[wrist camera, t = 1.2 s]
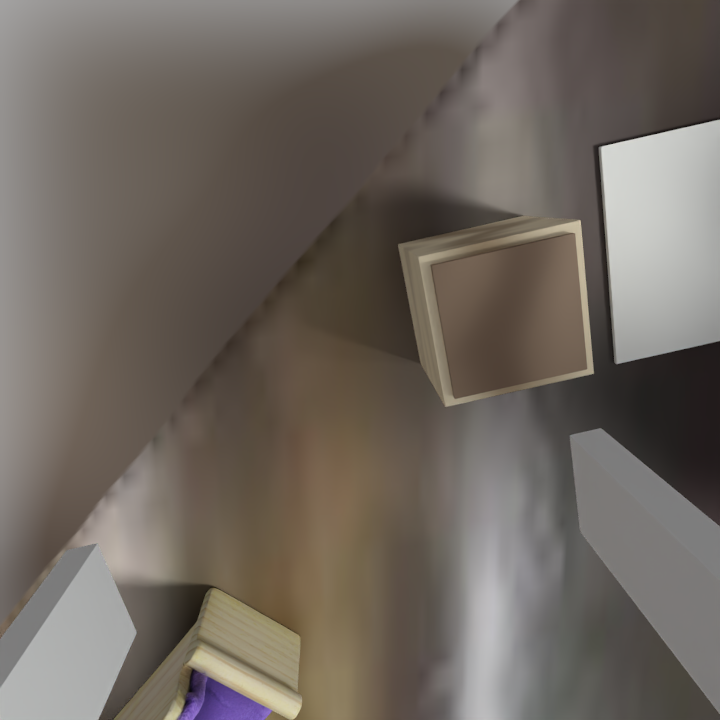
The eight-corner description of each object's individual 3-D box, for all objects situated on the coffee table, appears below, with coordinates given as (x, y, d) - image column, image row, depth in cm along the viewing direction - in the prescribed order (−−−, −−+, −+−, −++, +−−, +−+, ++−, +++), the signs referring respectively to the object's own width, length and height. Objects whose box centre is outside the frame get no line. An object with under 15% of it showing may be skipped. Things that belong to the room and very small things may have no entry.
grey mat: (825, 95, 32) (830, 94, 31) (815, 317, 36) (819, 318, 35) (598, 147, 32) (600, 146, 31) (614, 362, 36) (616, 364, 35)
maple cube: (522, 215, 33) (584, 220, 25) (537, 336, 35) (597, 376, 27) (397, 244, 33) (419, 257, 25) (420, 363, 35) (447, 409, 27)
